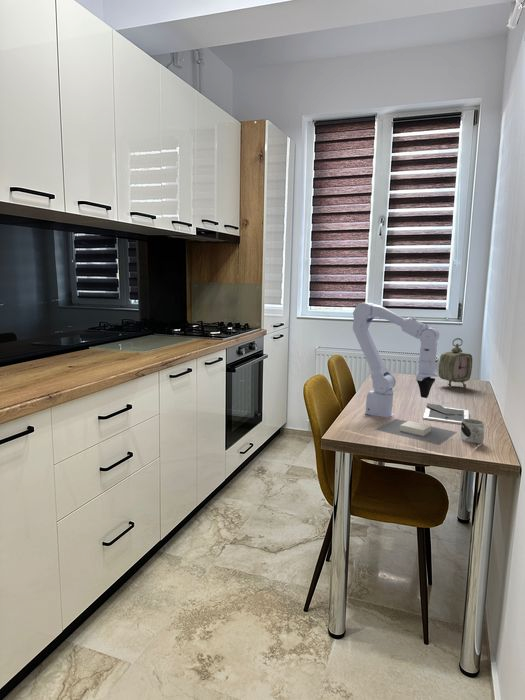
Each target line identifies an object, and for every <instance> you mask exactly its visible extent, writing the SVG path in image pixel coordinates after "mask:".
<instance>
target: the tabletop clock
mask: <svg viewBox="0 0 525 700" xmlns="http://www.w3.org/2000/svg"><path fill="white" fill-rule="evenodd" d="M456 340H459V341H461V342H460V344H459V343H456V344H454V343H455V341H456ZM463 341H464V340H462V338H460V337H456V338H454V339H453V340H452V342H451V343H452V345H453V347H452V348H451V350H450V351H446V352H444V353H441V354H440V357H439V363H438V376H439V378H440V379H442V380H445V381H448V383H447V387H448V388H447V389H449V388H451V389H452V383H462V387H463V386H464V387H463V388H467V384H465V382H467V381H470V378H471V377H472V376H471V375H472V370H473V355H472V354H471V353H466V352H465V353H464V352H463V349H462V348H461V346H462V345H463ZM448 385H449V386H448Z"/></svg>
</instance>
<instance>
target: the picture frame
mask: <svg viewBox="0 0 525 700" xmlns="http://www.w3.org/2000/svg"><path fill="white" fill-rule="evenodd" d="M424 411H425V412H424V414H423V420H424V421H425V420H427V421H434V422H441V423H449V424H454V425H455V424H456V425H461V424H462V419H470V417H469V416H470V415H469V414H470V413H469V410H468V409H462V408H454V407H447V406H442V405H441V404H435V403H426V408H425V410H424Z"/></svg>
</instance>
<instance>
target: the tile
mask: <svg viewBox="0 0 525 700" xmlns="http://www.w3.org/2000/svg"><path fill="white" fill-rule="evenodd" d="M406 421H407V422H405V423H403V424H401V425H400V431H403V432H408V433H412V434H416V435H421V436H424V435H426V434H427V433H429V432H430V431H431V427H432V425H430V424H429V425H428V424H423V423H419V422H415V421H412V420H406Z"/></svg>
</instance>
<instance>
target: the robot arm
mask: <svg viewBox="0 0 525 700" xmlns="http://www.w3.org/2000/svg"><path fill="white" fill-rule="evenodd" d="M352 314H353V325H352V331H353V333H354V335H355V337H356V339H357V342H358V344H359V347H360V348H361V350H362V353H363V355H364V358H365V359H366V362H367V364H368V366H369V369H370V371H371V372H370V373H371V376H370V378H371V380H372V389H373V390H369V391H368V392H367V394H366V398H365V399H366V400H365V411H364V414H365V415H369V416H376V417H377V416H378V417H380V418H381V417H382V418H386V419H388V418H391V417H392V416H394V415H396V413H393V402H394V391H393V388H395V386H396V378H395V376H394V375H392V374H391V372H390V371H389V369H388V367H386V366H385V365H384V362H383V360H382V357H381V355H380V352H379V351H378V349H377V347H376V344H375V342H374V339H373V338H372V336H371V333H370V331H369V326H370V324H371V322H372V321H373V320H374V319H377V318H381V319H384V320H386V321H388V322H390V323H392V324H394V325H397V326H400V328H401V331H402V332H403V333H405V334H408V335H410V336H412V337H413V338H415V339H418V340H419V341H420V347H419V348H420V349H419V358H418V369H417V370H418V371H417V374H416V375H415V381H416V382H417V385H418V387H419V394H420V397H421V398H423V399H427V398H428V397H429V395H430V392H431V390H432V386H433V384H434V383H435V382H436V378H434V377H438V376H439V373H436V372H437V370H436V364H437V362H436V361H437V352H438V351H437V350H438V348H437V347H438V341H439V339H440V332H439V330H438V329H437V328H435V327H434V326H429V324H427V323H426V324H425V323H423V322H421V321H419V320H417V317H415V316H413V317H407V318H404V317H403V316H401V315H399V314H397V313H395V312H394V311H392V310H390V309H388V308H387V307H385V306H382V305H380V304H375V303H374V302H371V301H370V302H359V303H358V304H357V305H356V306H355V308H354V310H353V311H352Z"/></svg>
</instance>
